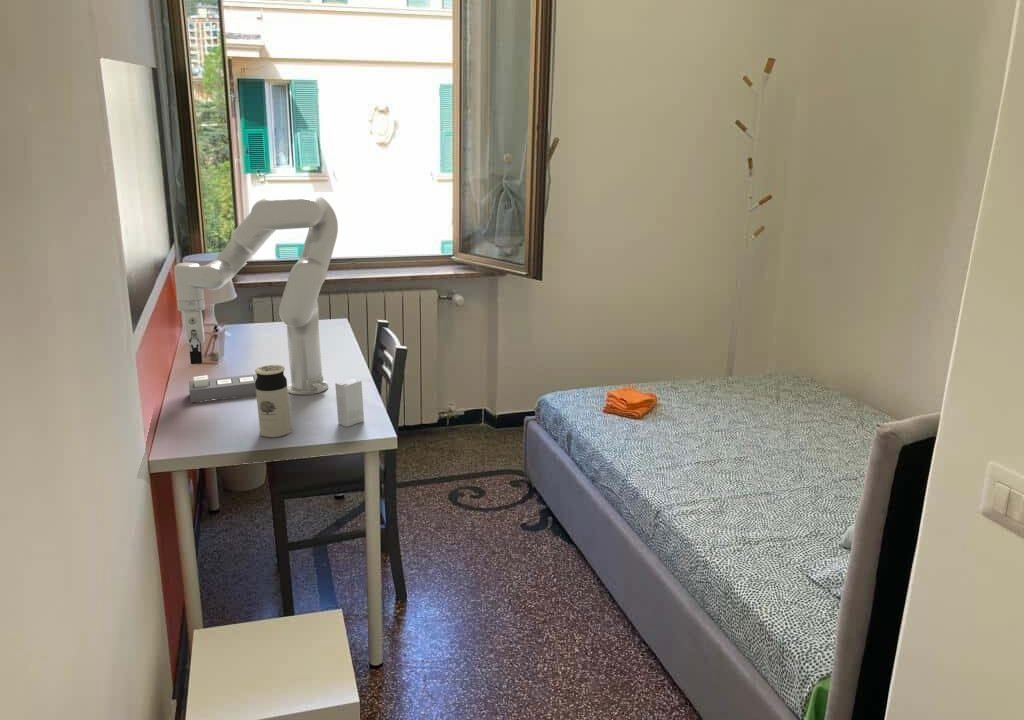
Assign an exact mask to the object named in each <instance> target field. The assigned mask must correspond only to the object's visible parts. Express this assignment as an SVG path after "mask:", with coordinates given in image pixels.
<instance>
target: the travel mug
mask: <svg viewBox="0 0 1024 720" xmlns="http://www.w3.org/2000/svg"><path fill="white" fill-rule="evenodd" d="M285 369H286V368H285V366H283V365H279V364H267V365H262V366H259V367H257V368H255V369H254V372H255V374H257V379H256V381H255V386H256V395H255V396H256V404H257V414H258V424H259V433H260V435H261V436H263V437H266V438H280V437H283V436H286V435H288V434H290V433H291V431H292V423H291V414H290V413H291V412H290V411H291V410H290V403H289V401H290V400H289V392H288V389H287V385H288V382H287V381H288V380H287V377H286V376H285V373H284V371H285Z"/></svg>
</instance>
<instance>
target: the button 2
mask: <svg viewBox="0 0 1024 720" xmlns="http://www.w3.org/2000/svg"><path fill="white" fill-rule="evenodd" d="M239 379H240V382H248V381H254V379H253V377H245V378H239Z"/></svg>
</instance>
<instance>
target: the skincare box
mask: <svg viewBox="0 0 1024 720" xmlns="http://www.w3.org/2000/svg"><path fill="white" fill-rule="evenodd" d="M362 383H363V382H362V380H360V379H356V378H354V377H353V378H349V379H346V380H341V381H339V382H336V383H335V395H336V396H335V397H336V408H337V421H338V422H337V423H338V424H339V425H341V426H343V427H346V428H347V427H350V426H353V425H356V424H359V423H361V422H364V421H365V416H364V414H365V413H364V401H363V400H364V399H363V386H362V385H363V384H362Z"/></svg>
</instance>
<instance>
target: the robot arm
mask: <svg viewBox="0 0 1024 720" xmlns="http://www.w3.org/2000/svg"><path fill="white" fill-rule="evenodd" d="M294 229H295V230H297V229H308V230H307V231H308V232H307V235H306V238H305V240H304V244H303V249H302V250H301V254H300V256H299V259H298V260H297V262H296V263H295V264H294V265H293V266H292V268H291V270H290V272H289V275H288V277H287V281H286V285H285V287H284V289H283V290H284V291H283V294H282V296H281V300H280V304H279V308H278V314H279V318H280V319H281V321H282V323H284V324H285V325H286V336H287V350H288V360H289V361H288V362H289V371H290V383H287V389H288V394H289V393H290V394H292V395H297V396H298V395H300V396H304V395H315V394H319V393H322V392H324V391H326V390H327V389H329V383H328V382H327V381H326V380H324V375H323V369H322V367H323V366H322V355H321V354H322V353H321V343H320V342H321V341H320V339H321V338H320V328H319V326H320V323H319V321H320V320H319V303H318V302H319V301H318V298H319V295H320V291H321V288H322V285H323V284H324V282H325V280H326V278H327V274H328V270H329V266H330V262H331V259H332V256H333V252H334V248H335V245H336V241H337V238H338V233H339V232H338V230H339V223H338V218H337V215H336V212H335V210H334V208H333V207H332V206H331V204H330V203H329V202H328V201H327V200H326V199H325V198H324V197H322V196H320V195H318V194H314V193H313V194H311V193H310V194H306V195H304V196H302V197H297V198H286V199H285V198H284V199H282V198H281V199H278V198H276V197H273V196H268V197H264V198H262V199H260V200H258V201H257V202H255V203H254V204H253V206H252V208H251V210H250V212H249V214H248V215H247V216H246V217H245V218H244V220H242V222H241V223H239V225H237V227H236V228H235V229H234V230H233V232H232V234H231V237H230V240H229V242H228V243H227V245H226V246H225V247H224V248H223V249H222V251H221V252H220V253H219V254H218V255H217V256H216V257H215V258H214V259H213V260H212V261H211V262H210V263H209V262H208V264H206V265H200V264H199V263H197V262H180V263H176V264H175V266H174V268H173V269H174V270H173V271H174V282H175V292H176V301H177V302H176V303H177V304H176V305H177V310H178V311H179V312H182V317H183V326H184V333H185V337H186V342H187V344H189V358H190V359H189V360H190V364H191V365H198V364H199V365H201V364H203V357H202V344H204V343H205V340H206V339H205V329H204V318H203V311H204V310H205V309H206V305H205V304H206V302H205V294H204V293H205V291H204V290H209V291H216V290H219V289H221V288H222V287H224V286H225V285H226V284H228V283H229V282H230V281H231V280H233V278H234V277H235V276H236V275H237V273H239V271H240V270H241V269H242V268H243V267H244V265H245V264H247V262H248V261H249V260H250V259H251V258H252V257H254V255H256V253H257V252H258V251H259V250H260V248H261V247H262V246H263V245H264V244H265V243H266V241H268V239H269V238H271V236H272V235H273V234H274V233H275V232H276V231H279V230H280V231H281V230H294ZM201 343H202V344H201Z"/></svg>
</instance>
